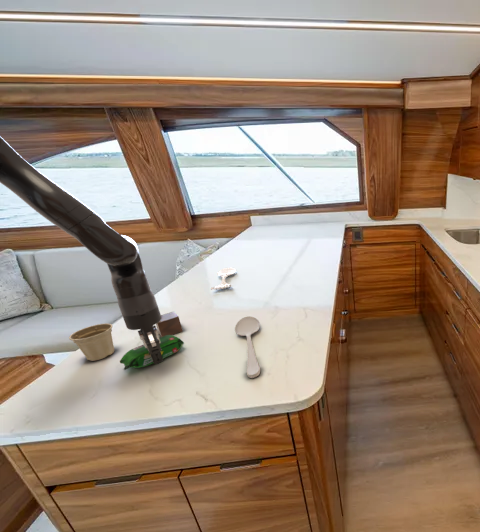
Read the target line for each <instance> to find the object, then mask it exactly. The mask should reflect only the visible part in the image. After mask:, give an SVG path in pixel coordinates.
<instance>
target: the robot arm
mask: <svg viewBox="0 0 480 532" xmlns="http://www.w3.org/2000/svg"><path fill="white" fill-rule="evenodd" d="M0 184H1V185H3V186H4V187H6V188H7V189H8V190H9V191H11V192H12V193H14V194H15V195H16V196H17V197H19V198H20V199H21V200H22V201H23V202H24V203H26V204H27V205H28V206H29V207H30V208H31V209H33V210H34V211H35V212H36V213H38V214H39V215H40V216H42V217H43V218H45V219H46V220H47V221H48V222H49V223H51V224H53V225H55V226H56V227H57V228H59V229H60V230H62V231H63V232H65V233H66V234H67V235H69V236H71V237H72V238H73V239H75V240H77V241H78V242H79V243H80V244H81V245H82V246H83V247H85V249H86V250H88V251H89V252H90V253H91V254H93V255H94V256H95V257H96V258H98V259H99V260H100V261H102V262H104V263H106V265H107V267H108V271H109V272H110V277H111V278H110V279H111V285H112V288H113V291H114V293H115V296H116V299H117V304H118V308H119V311H120V314H121V316H122V319H123V321H124V324H125V327H126V329H127V330H131V331H137V333H138V336H139V339H140V340H141V341H142V345H143V344H144V346H145V348H148V349H147V350H148V351H149V354H151V357H152V360H153V362H154V363H153V364H154V365H158V364H161V363H162V362H164V359H163V357H162V354H161V347H160V339H159V338H160V334H159V332H158V329H157V326H156V324H157V323H158V322H159V321H160V320H161V315H162V314H161V312H160V309H159V305H158V303H157V300H156V297H155V294H154V292H153V291H152V288H151V285H150V282H149V280H148V277H147V274H146V272H145V270H144V267H143V263H142V258H141V255H140V251H139V248H138V245H137V243H136V241H135V240H134V239H132V237H129V236H127V235H123V234H120V233H119V232H117V231H116V230H115V229H114V228H112V227H111V226H109V225H108V224H107V223H106V222H105V220H104V219H103V218H102V216H100V215H99V214H98V213H96V212H95V211H94V210H93V209H91V208H90V207H89V206H87V205H86V204H85V203H84V202H82V201H81V200H80V199H79V198H77V197H76V196H75V195H73V194H72V193H70V192H68V190H66V189H64V188H63V187H62V186H60V185H58V184H57V183H56V182H54V181H53V180H51V179H50V178H49V177H47V176H46V175H45V174H44V173H42V172H40V171H39V170H38V169H36V168H35V167H34V166H33V165H32V164H31V163H29V162H28V161H27V160H25V159H24V157H22V155H20V154H19V153H18V152H17V151H16V150H15V149H14V148H13V147H12V146H10V144H9V143H8V142H7V141H6V140H5V139H4V138H3V137H2V136H1V135H0Z"/></svg>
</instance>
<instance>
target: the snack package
mask: <svg viewBox="0 0 480 532" xmlns="http://www.w3.org/2000/svg"><path fill="white" fill-rule="evenodd" d="M159 339H160V347H161V354H162V357H163V360H164V359H166V358H168V357H169V356H172V355H174V354H176V353H177V352H179V351H180V349H181V348H182V347H183V346H184V344H185V342H184V341H183V340H182V339H181V338H180V337H178V336H176V335H174V334H173V335H166V336H163V337H161V336H160V337H159ZM147 349H148V348H145V346H144V344H143V343H142V344H141V345H139V346H136V347H134V348H131V349H130V350H128V351H127V352H125V354H123V356H122V357H121V358H120V360H119V363H120V364H123V365H124V368H123V370H124V371H126V370H129V369H130V368H135V369H138V368H139V369H140V368H145V367H148V366H150V365H152V364H154V362H153V360H152V357H151V354H149V351H148V350H147Z"/></svg>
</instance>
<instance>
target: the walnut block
mask: <svg viewBox="0 0 480 532" xmlns="http://www.w3.org/2000/svg"><path fill="white" fill-rule="evenodd" d="M155 326H156V328H157V330H158V333H159V336H160V338H161V337H163V336H166V335H173V336H174V335H176V334H179V333H182V332H183V326H182V322H181V320H180V316H179V315H178V313H176V312H175V311H170V312H167V313H164V314H161V320H160V321H159V322H158V323H157V324H155Z"/></svg>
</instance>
